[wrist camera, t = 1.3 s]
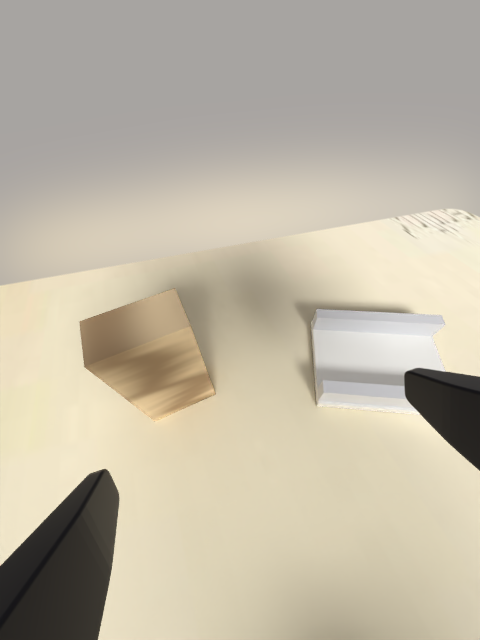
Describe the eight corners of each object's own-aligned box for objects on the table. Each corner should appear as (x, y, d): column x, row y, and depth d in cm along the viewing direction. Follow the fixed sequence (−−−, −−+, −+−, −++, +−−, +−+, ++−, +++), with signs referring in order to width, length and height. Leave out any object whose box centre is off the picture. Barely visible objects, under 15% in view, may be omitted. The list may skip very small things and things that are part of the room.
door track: (423, 330, 26) (440, 313, 23) (455, 417, 21) (480, 407, 18) (310, 323, 26) (316, 307, 24) (316, 406, 22) (324, 395, 19)
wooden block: (204, 365, 24) (175, 287, 15) (215, 394, 23) (190, 325, 14) (147, 390, 23) (79, 321, 14) (155, 421, 22) (84, 367, 13)
